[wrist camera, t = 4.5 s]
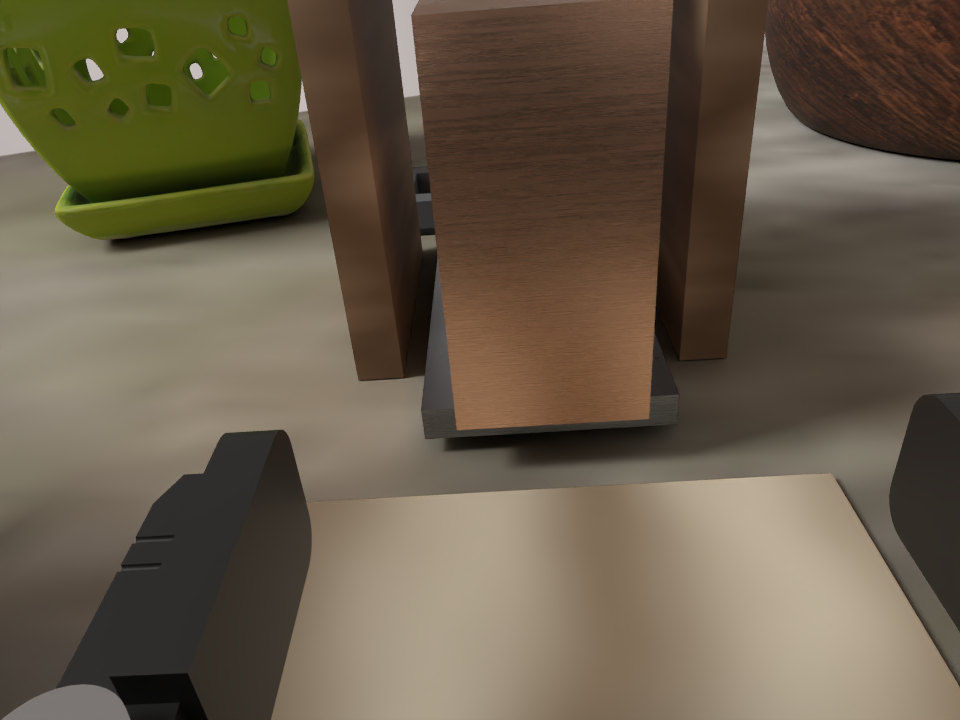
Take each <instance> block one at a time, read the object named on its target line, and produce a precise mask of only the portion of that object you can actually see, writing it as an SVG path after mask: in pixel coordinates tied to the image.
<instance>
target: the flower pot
mask: <svg viewBox="0 0 960 720" xmlns="http://www.w3.org/2000/svg"><path fill="white" fill-rule="evenodd" d="M121 28H126V29H127V31H128V38H127V40H125V41H124V42H123V43H120V42H119V41H118V40H117V38H116V33H117V30H118V29H121ZM153 51H154V55H153V56H152V52H153ZM212 54H213V55H214V56H216V57H217V58H214V57H213V55H212ZM87 58H89V59H91V60H93V61H94V62H95V63H96V64H97V65H98V67H99V68H100V69H101V71H102V72H103V74H104V76H103V78H101V79H99V80H96V81H92V80H91V78H90V75H89V72H88V69H87V65H86V59H87ZM193 63H198V64H199V65H200V67H201V69H202V72H203V76H202V77H201V78H199V79H196V80H195V79H193V77H192V75H191V72H190V69H189V68H190V65H191V64H193ZM301 82H302V76H301V71H300V66H299V60H298V55H297V50H296V44H295V39H294V34H293V28H292V23H291V18H290V12H289V7H288V2H287V0H0V104H1V105H2V107H3V108H4V110H5V111H6V113H7V114H8V116H9V117H10V119H11V120H12V121H13V123H14V124H15V125H16V127H17V128H18V129H19V131H20V132H21V134H22V135H23V136H24V137H25V139H26V140H27V141H28V142H29V143H30V144H31V146H32V147H33V148H34V150H35V151H36V152H37V153H38V154H39V155H40V156H41V158H42V159H43V160H44V161H45V162H46V163H47V164H48V165H49V166H50V167H51V168H52V169H53V170H54V171H55V172H56V173H57V174H58V175H59V176H60V177H61V178H62V179H63V180H64V181H65V182H67V183H68V184H69V185H68V186H67V188H66V189H65V191H64V192H63V194H62V196H61V197H60V199H59V201H58V203H57V205H56V208H55V215H56V216H57V218H58V219H59V220H60V221H61V222H63V223H64V224H65V225H67V226H68V227H70V228H72V229H73V230H75V231H77V232H79V233H81V234H84V235H86V236H89V237H91V238H95V239H100V240H110V239H120V238H122V239H126V238H133V237H137V236H142V235H149V234H156V233H164V232H171V231H178V230H185V229H192V228H199V227H206V226H213V225H220V224H227V223H233V222H240V221H247V220H253V219H260V218H267V217H273V216H288V215H290V214H292V213H293V212H295V211H297V210H298V209H299V208H300V207H301V206H302V205H303V204H304V203H305V201H306V200H307V198H308V196H309V195H310V193H311V191H312V187H313V184H314V168H313V162H312V156H311V151H310V146H309V141H308V136H307V132H306V129H305V126H304V123H303V122H302V121H301V120H299V119H298V112H299V103H300V94H301Z"/></svg>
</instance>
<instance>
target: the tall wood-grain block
mask: <svg viewBox="0 0 960 720" xmlns="http://www.w3.org/2000/svg"><path fill="white" fill-rule="evenodd" d="M672 14H673V0H419V1H418V3H417V5H416V7H415V9H414V11H413V13H412V15H411V16H412V25H413V35H414V45H415V54H416V63H417V72H418V81H419V90H420V99H421V108H422V117H423V127H424V136H425V145H426V154H427V163H428V172H429V181H430V190H431V199H432V209H433V218H434V227H435V236H436V245H437V254H438V259H437V268H436V277H435V286H434V296H433V305H432V314H431V324H430V333H429V342H428V352H427V361H426V370H425V379H424V389H423V398H422V407H421V412H422V419H423V427H424V434H425V439H434V438H452V437H469V436H486V435H503V434H520V433H538V432H555V431H572V430H589V429H606V428H624V427H641V426H658V425H675V424H677V416H678V403H679V393H678V390H677V388H676V385H675V383H674V380H673V378H672V375H671V373H670V370H669V368H668V365H667V362H666V360H665V357H664V355H663V352H662V350H661V347H660V345H659V342H658V340H657V337H656V334H655V332H654V324H655V307H656V290H657V273H658V255H659V238H660V221H661V203H662V186H663V169H664V152H665V134H666V117H667V100H668V83H669V65H670V48H671V31H672Z"/></svg>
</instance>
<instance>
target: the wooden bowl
mask: <svg viewBox="0 0 960 720" xmlns="http://www.w3.org/2000/svg"><path fill="white" fill-rule="evenodd" d="M765 37H766V46H767V51H768V56H769V61H770V66H771V70H772V73H773V76H774V79H775V82H776V84H777V87H778V90H779V92H780V94H781V96H782V98H783V100H784V102H785V104H786V106H787V107H788V109H789V110H790V111H791V112H792V113H793V114H794V115H795V116H796V118H798V119H799V120H800V121H801V122H802V123H804V124H805V125H807V126H808V127H810V128H812V129H814V130H816V131H819V132H821V133H823V134H826V135H829V136H831V137H834V138H837V139H840V140H844V141H847V142H851V143H855V144H859V145H863V146H867V147H872V148H876V149H881V150H887V151H892V152H898V153H904V154H911V155H918V156H926V157H934V158H943V159H954V160H960V0H768V9H767V17H766V25H765Z"/></svg>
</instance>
